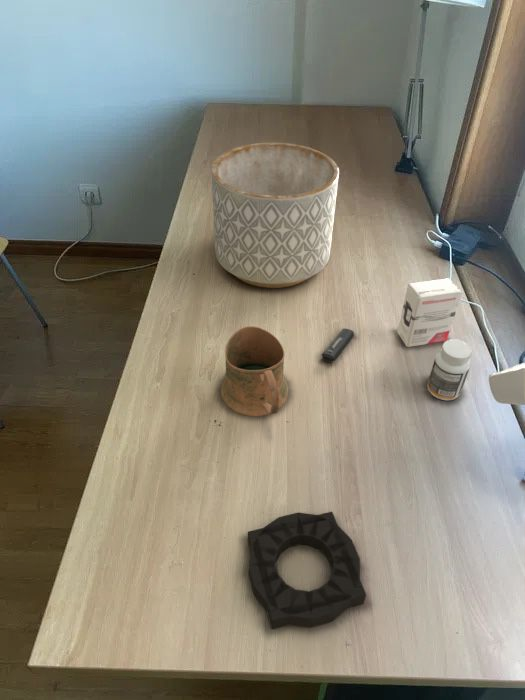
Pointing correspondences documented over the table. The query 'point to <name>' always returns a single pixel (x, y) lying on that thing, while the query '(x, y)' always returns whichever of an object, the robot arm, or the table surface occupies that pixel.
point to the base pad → (299, 604)
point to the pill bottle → (450, 370)
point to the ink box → (428, 312)
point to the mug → (254, 373)
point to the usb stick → (337, 345)
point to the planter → (273, 212)
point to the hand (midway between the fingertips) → (518, 369)
